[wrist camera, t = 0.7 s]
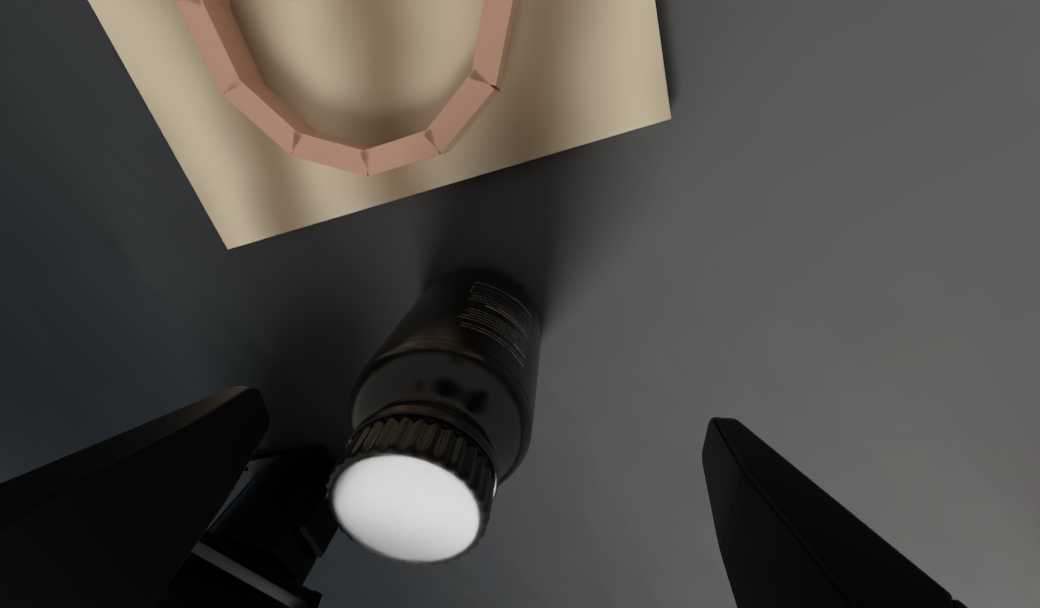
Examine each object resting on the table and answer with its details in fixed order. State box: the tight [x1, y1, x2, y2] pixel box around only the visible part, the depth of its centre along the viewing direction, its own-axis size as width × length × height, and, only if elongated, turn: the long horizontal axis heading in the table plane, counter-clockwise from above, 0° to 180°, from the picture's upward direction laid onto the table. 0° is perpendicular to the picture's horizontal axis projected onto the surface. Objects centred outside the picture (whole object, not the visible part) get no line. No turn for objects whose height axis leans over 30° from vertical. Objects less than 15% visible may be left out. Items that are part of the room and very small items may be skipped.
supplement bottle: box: [325, 268, 541, 565], centre depth 17 cm, size 7×7×12 cm
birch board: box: [88, 0, 671, 249], centre depth 17 cm, size 22×15×1 cm
